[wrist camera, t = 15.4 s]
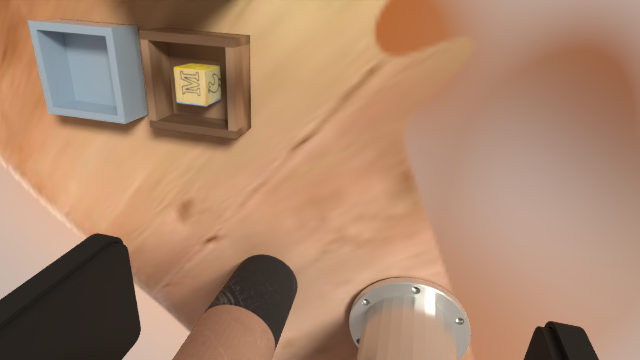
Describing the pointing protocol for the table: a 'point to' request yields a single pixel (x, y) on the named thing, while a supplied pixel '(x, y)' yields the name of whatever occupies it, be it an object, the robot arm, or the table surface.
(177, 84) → the alphabet block
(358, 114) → the table surface
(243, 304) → the travel mug
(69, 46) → the slate box
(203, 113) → the walnut box
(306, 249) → the table surface
